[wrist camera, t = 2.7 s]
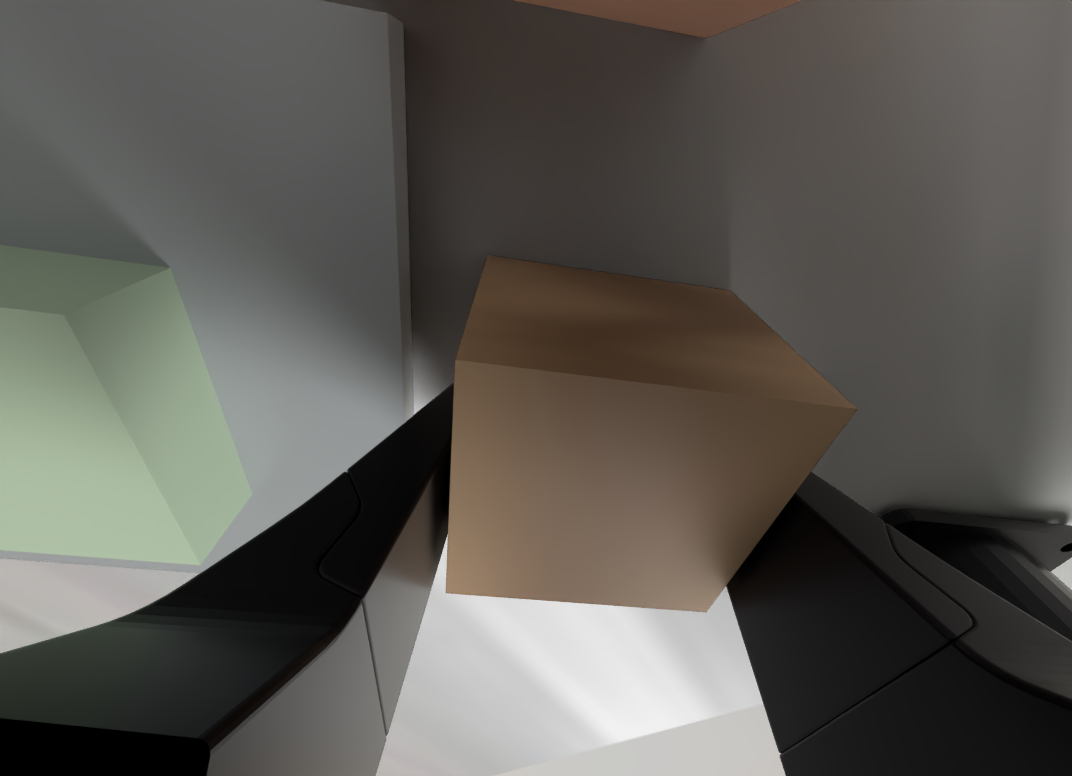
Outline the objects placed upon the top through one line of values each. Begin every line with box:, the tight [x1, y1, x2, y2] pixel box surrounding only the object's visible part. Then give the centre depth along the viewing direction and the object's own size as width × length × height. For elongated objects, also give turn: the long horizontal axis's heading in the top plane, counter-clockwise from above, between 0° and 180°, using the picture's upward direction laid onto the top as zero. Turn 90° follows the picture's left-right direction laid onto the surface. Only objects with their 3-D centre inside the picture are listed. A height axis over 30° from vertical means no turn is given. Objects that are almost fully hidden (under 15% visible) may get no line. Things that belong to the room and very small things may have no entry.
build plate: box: [0, 0, 414, 573], centre depth 8 cm, size 14×14×3 cm
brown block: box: [446, 255, 857, 612], centre depth 8 cm, size 5×5×4 cm
